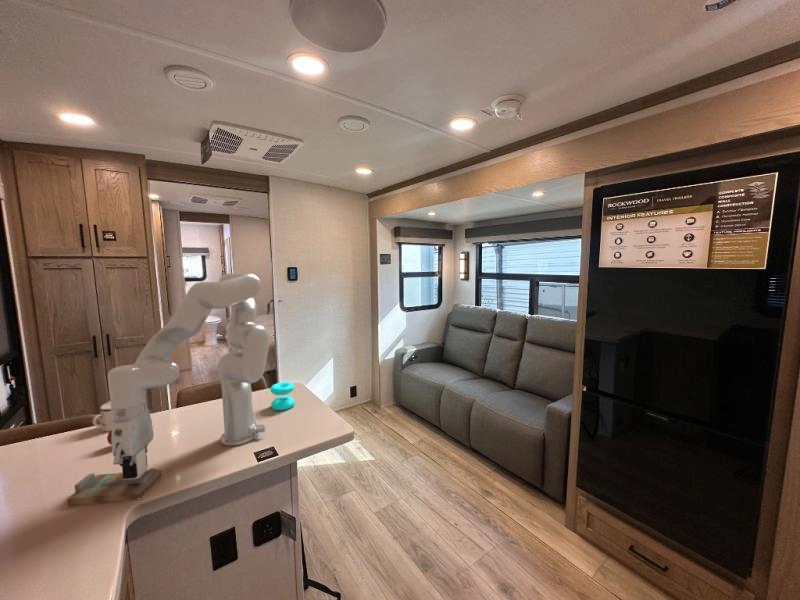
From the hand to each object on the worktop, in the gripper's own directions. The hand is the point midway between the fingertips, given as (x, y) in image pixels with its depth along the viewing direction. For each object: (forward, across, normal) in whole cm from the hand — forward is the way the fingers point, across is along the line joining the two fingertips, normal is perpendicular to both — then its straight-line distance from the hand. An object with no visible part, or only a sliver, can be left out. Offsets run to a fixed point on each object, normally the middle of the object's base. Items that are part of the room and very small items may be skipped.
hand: (135, 472), depth 91 cm
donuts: (+5, +50, -29) cm, 58 cm away
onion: (+5, +25, +21) cm, 33 cm away
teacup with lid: (+5, +40, +33) cm, 52 cm away
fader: (+2, 0, 0) cm, 2 cm away
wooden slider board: (+5, 0, +5) cm, 7 cm away
